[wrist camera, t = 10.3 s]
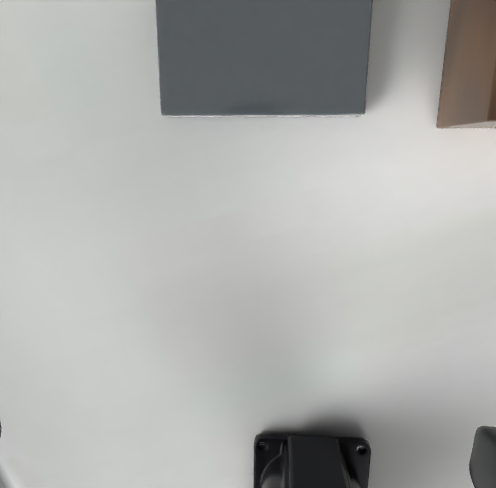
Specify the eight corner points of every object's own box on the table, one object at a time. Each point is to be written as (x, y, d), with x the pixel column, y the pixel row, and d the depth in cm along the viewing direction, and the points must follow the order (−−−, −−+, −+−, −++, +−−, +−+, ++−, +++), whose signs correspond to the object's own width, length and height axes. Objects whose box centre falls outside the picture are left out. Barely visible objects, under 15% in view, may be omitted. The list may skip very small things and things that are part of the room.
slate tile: (359, 117, 18) (364, 115, 17) (167, 117, 19) (160, 115, 17) (374, -115, 16) (382, -136, 15) (157, -107, 16) (148, -126, 15)
